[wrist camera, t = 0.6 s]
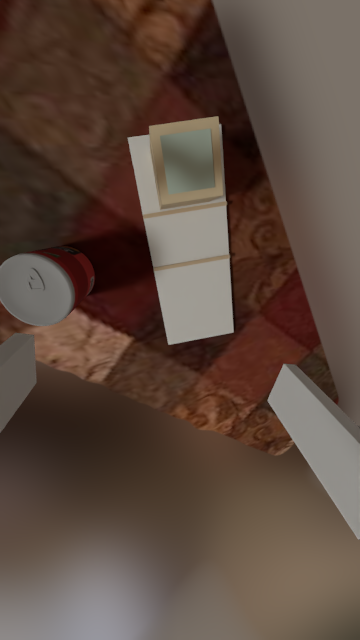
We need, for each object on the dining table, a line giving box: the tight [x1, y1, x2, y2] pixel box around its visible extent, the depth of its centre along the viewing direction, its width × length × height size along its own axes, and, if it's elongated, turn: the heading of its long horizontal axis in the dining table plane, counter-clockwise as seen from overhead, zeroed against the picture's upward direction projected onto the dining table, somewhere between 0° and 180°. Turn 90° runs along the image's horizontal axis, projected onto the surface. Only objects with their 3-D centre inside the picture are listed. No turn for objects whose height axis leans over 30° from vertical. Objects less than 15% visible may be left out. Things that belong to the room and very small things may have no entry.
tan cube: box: [149, 116, 223, 210], centre depth 27 cm, size 7×7×7 cm
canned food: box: [0, 246, 95, 326], centre depth 29 cm, size 8×8×11 cm
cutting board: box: [128, 124, 234, 345], centre depth 34 cm, size 30×12×1 cm, turn 9°
